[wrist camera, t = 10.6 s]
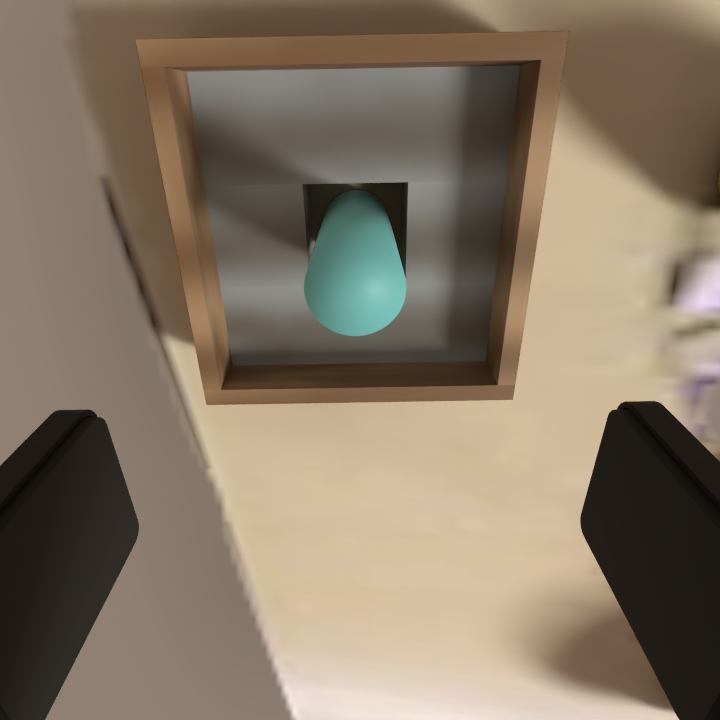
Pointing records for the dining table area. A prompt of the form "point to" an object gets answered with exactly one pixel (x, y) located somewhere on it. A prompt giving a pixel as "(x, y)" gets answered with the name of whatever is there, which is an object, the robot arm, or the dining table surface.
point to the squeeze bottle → (719, 182)
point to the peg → (355, 267)
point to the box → (355, 165)
